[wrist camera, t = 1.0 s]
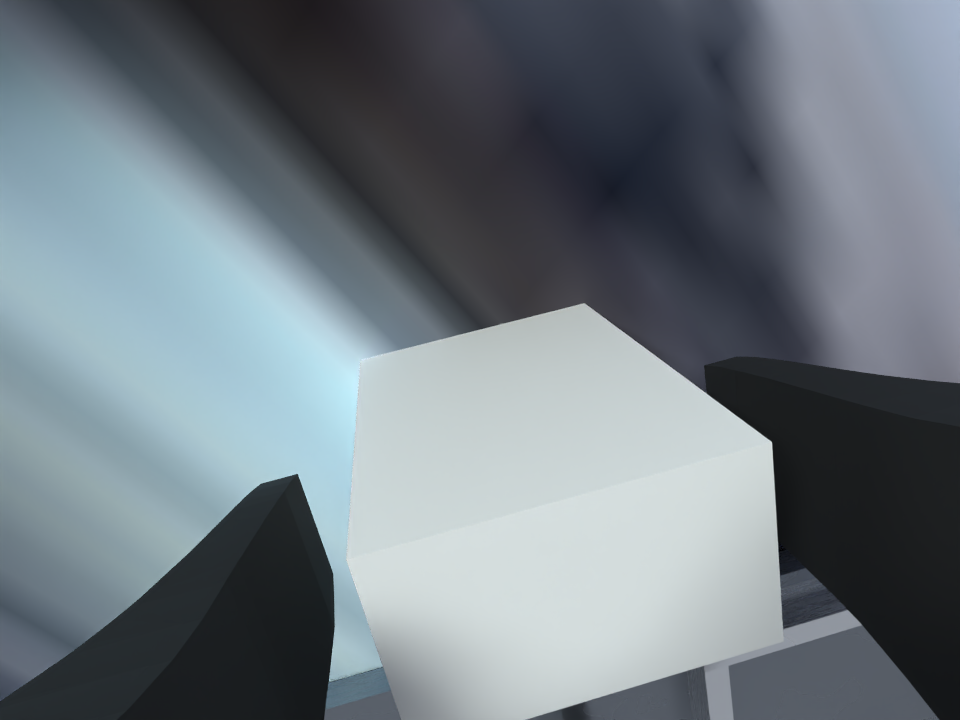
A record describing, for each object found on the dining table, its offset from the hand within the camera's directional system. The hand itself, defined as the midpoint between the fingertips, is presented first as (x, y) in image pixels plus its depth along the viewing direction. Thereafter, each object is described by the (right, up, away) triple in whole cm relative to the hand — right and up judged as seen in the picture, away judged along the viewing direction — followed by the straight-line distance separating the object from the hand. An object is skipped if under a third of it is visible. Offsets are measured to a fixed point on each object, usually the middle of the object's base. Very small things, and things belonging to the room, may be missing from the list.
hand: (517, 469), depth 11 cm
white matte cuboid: (0, +1, +3) cm, 4 cm away
